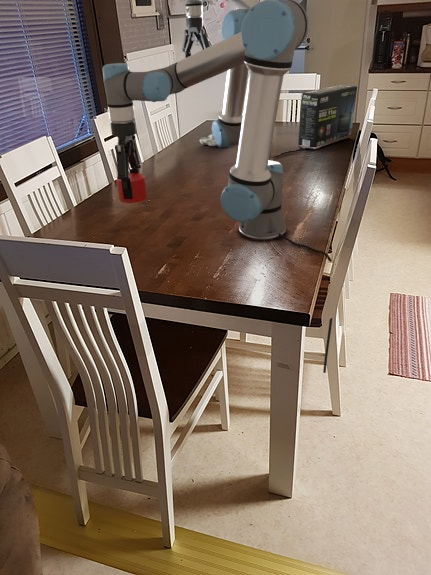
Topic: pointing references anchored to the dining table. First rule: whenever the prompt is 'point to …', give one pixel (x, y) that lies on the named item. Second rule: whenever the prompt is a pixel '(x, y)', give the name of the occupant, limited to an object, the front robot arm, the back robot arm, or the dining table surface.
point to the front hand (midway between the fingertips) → (132, 193)
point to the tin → (133, 188)
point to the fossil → (208, 141)
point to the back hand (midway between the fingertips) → (197, 69)
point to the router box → (326, 115)
